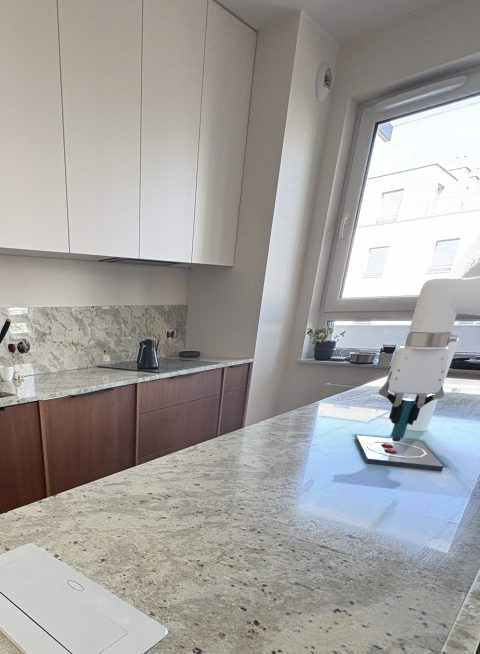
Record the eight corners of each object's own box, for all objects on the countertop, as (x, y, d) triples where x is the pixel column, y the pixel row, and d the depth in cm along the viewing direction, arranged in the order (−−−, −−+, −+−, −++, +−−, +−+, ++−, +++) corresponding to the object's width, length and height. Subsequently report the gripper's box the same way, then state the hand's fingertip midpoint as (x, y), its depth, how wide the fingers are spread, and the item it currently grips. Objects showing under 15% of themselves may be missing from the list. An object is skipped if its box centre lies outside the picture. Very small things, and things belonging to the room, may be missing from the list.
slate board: (419, 445, 112) (420, 440, 111) (441, 471, 96) (443, 466, 95) (355, 439, 117) (356, 435, 117) (366, 463, 101) (367, 458, 100)
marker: (400, 439, 104) (413, 398, 99) (403, 442, 102) (416, 401, 97) (388, 438, 105) (400, 398, 100) (390, 441, 103) (403, 400, 98)
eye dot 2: (392, 453, 105) (394, 449, 105) (394, 456, 104) (395, 451, 103) (384, 453, 106) (386, 448, 105) (385, 455, 104) (387, 450, 104)
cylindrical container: (394, 423, 131) (422, 337, 119) (420, 424, 129) (450, 337, 118) (404, 430, 124) (434, 339, 113) (432, 431, 123) (465, 339, 112)
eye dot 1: (389, 448, 109) (391, 443, 108) (391, 450, 107) (392, 445, 107) (381, 447, 109) (382, 442, 109) (382, 449, 108) (384, 444, 107)
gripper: (465, 339, 93) (437, 421, 102) (381, 339, 99) (360, 416, 107) (478, 342, 87) (446, 429, 95) (387, 342, 93) (365, 424, 101)
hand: (401, 422), depth 101 cm, fingers closed on marker, 2 cm apart
